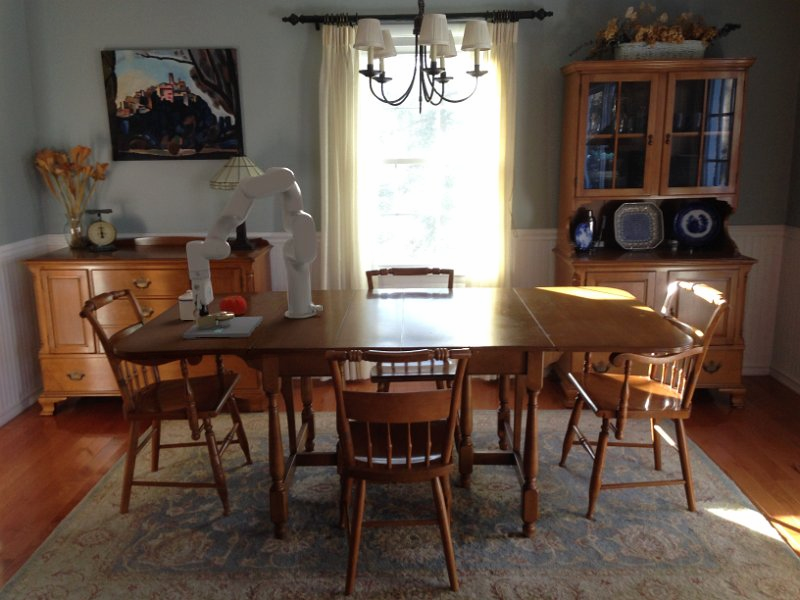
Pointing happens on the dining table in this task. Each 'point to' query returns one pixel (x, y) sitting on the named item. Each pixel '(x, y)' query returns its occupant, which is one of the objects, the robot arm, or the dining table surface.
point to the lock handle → (212, 319)
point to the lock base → (226, 328)
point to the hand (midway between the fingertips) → (205, 321)
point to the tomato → (233, 305)
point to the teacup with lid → (187, 306)
